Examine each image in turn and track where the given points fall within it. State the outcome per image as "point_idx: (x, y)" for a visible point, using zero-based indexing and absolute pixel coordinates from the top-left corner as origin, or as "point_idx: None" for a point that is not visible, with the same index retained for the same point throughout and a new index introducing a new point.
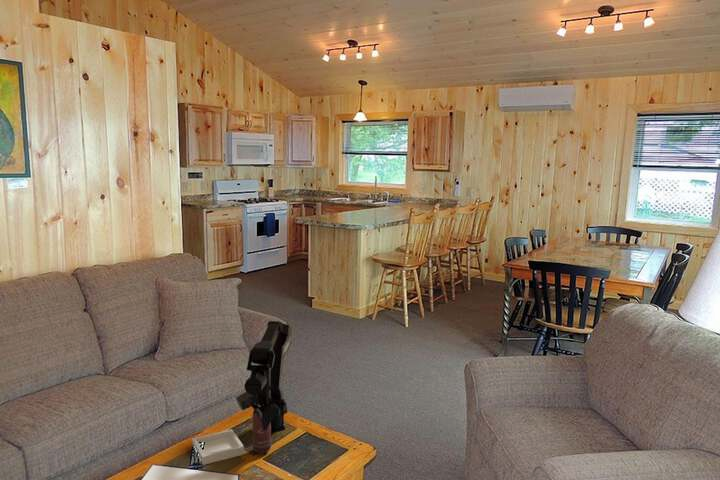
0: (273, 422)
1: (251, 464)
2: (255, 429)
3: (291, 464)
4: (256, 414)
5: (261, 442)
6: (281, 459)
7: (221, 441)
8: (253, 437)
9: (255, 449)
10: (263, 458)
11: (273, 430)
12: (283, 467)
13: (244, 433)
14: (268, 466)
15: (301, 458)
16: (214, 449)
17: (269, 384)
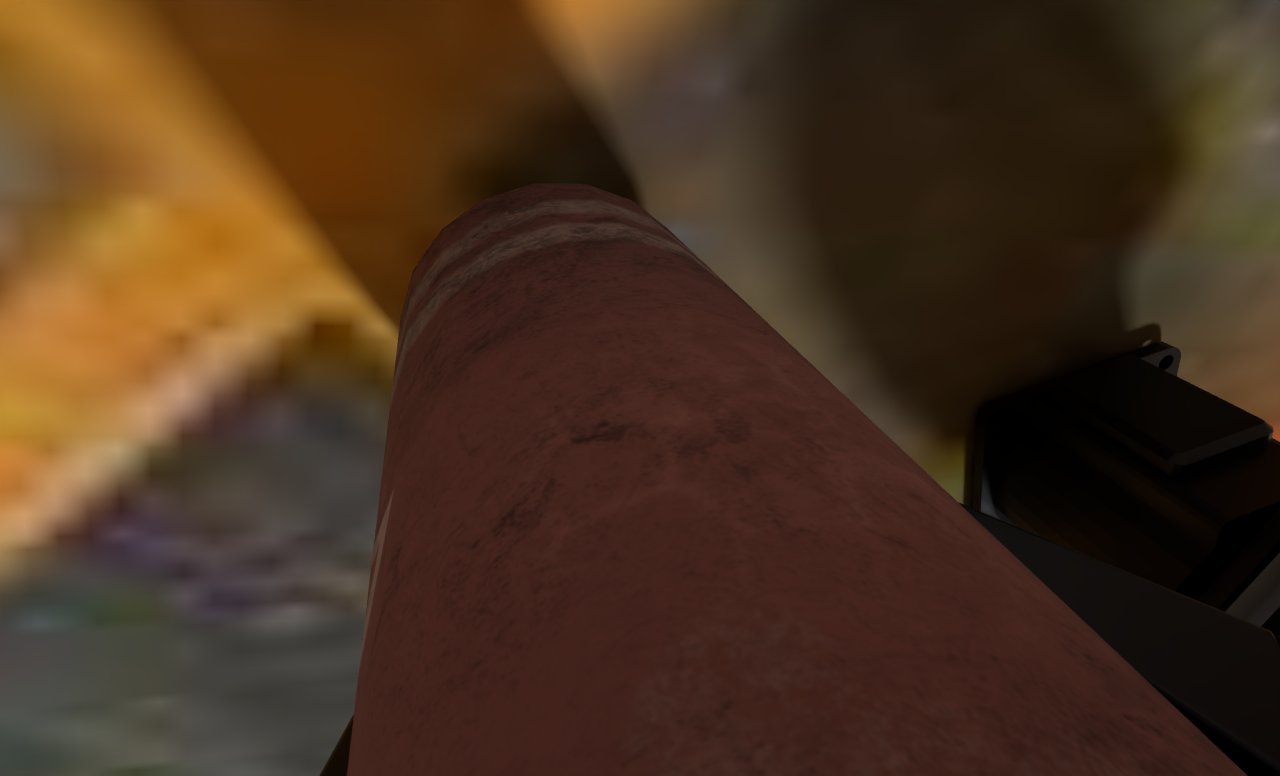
0: (1082, 516)
1: (118, 113)
2: (456, 460)
3: (144, 656)
4: None
5: (389, 413)
6: (287, 548)
7: None
8: (528, 269)
9: (445, 233)
10: (334, 324)
11: (993, 456)
12: (48, 580)
13: (1146, 69)
14: (62, 393)
15: (300, 731)
16: None
17: None
